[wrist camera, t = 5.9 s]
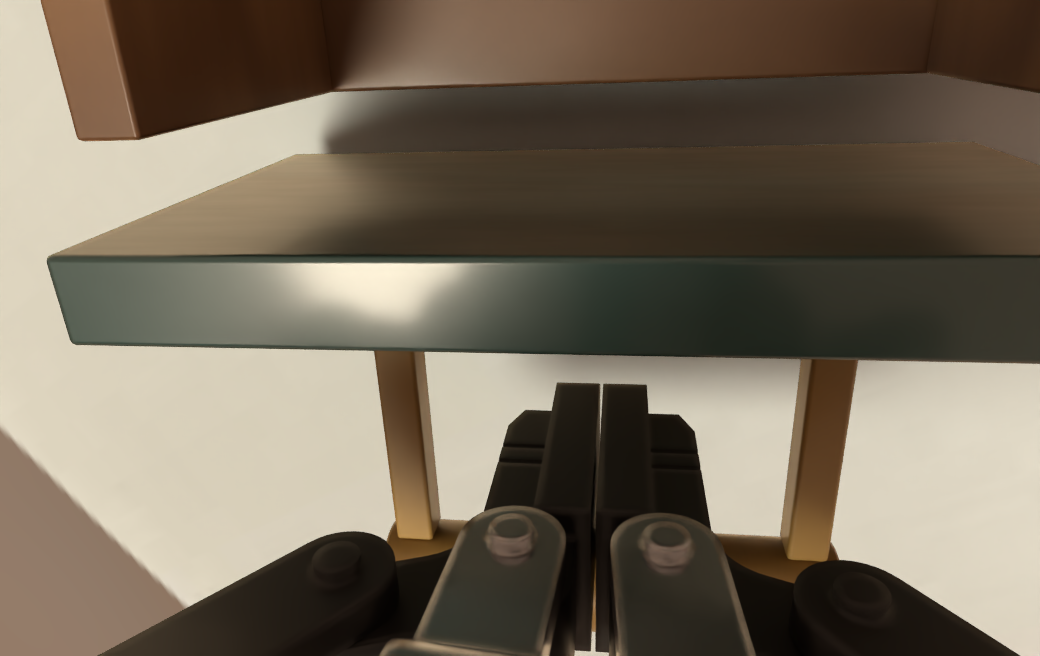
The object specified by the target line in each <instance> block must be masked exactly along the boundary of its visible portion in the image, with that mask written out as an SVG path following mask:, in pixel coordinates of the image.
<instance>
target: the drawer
mask: <svg viewBox="0 0 1040 656" xmlns="http://www.w3.org/2000/svg"><path fill="white" fill-rule="evenodd" d="M41 4H42V7H43V11H44V15H45V19H46V22H47V26H48V30H49V34H50V37H51V41H52V45H53V49H54V52H55V56H56V60H57V64H58V67H59V71H60V75H61V79H62V82H63V86H64V90H65V94H66V97H67V101H68V105H69V109H70V112H71V116H72V120H73V124H74V127H75V131H76V135H77V137H78V139H79V140H82V141H116V140H141V139H145V138H149V137H153V136H157V135H161V134H165V133H169V132H173V131H177V130H181V129H185V128H189V127H193V126H197V125H201V124H205V123H209V122H213V121H217V120H221V119H225V118H229V117H233V116H237V115H241V114H245V113H249V112H253V111H257V110H261V109H265V108H269V107H273V106H277V105H281V104H285V103H289V102H293V101H298V100H302V99H306V98H310V97H314V96H318V95H322V94H326V93H330V92H343V91H375V90H407V89H439V88H472V87H504V86H536V85H568V84H600V83H632V82H664V81H696V80H728V79H760V78H792V77H824V76H856V75H888V74H920V73H930V74H934V75H940V76H945V77H951V78H956V79H962V80H968V81H973V82H979V83H984V84H990V85H995V86H1001V87H1006V88H1012V89H1017V90H1023V91H1029V92H1034V93H1040V0H41ZM47 265H48V268H49V271H50V275H51V278H52V281H53V285H54V288H55V291H56V295H57V298H58V301H59V304H60V308H61V311H62V314H63V318H64V321H65V324H66V328H67V331H68V334H69V338H70V340H71V342H72V343H73V344H75V345H111V346H162V347H214V348H265V349H316V350H367V351H374V353H375V361H376V369H377V377H378V385H379V393H380V400H381V408H382V416H383V424H384V432H385V439H386V447H387V455H388V463H389V471H390V479H391V486H392V494H393V502H394V510H395V518H396V521H395V522H394V524H393V526H392V528H391V530H390V532H389V535H388V538H387V541H386V542H387V543H388V544H389V545H390V546H391V548H392V549H393V551H394V555H395V561H400V560H405V559H411V558H417V557H423V556H428V555H432V554H437V553H440V552H443V551H446V550H448V549H450V548H453V547H454V544H455V542H456V540H457V537H458V535H459V533H460V531H461V529H462V528H463V526H464V525H465V524H466V523H467V522H468V521H465V520H446V519H440V518H441V516H440V506H439V496H438V486H437V476H436V466H435V456H434V446H433V435H432V425H431V415H430V405H429V395H428V385H427V375H426V365H425V355H424V352H469V353H520V354H572V355H623V356H674V357H725V358H776V359H801V365H800V373H799V382H798V390H797V398H796V407H795V415H794V423H793V432H792V440H791V449H790V457H789V465H788V474H787V482H786V490H785V499H784V507H783V516H782V524H781V532H780V536H781V537H774V536H755V535H735V534H716V533H715V534H716V536H717V537H718V538H719V540H720V541H721V543H722V546H723V548H724V552H725V553H726V554H727V555H728V556H729V557H730V558H732V559H733V560H734V561H736V562H737V563H739V564H741V565H742V566H744V567H746V568H748V569H750V570H753V571H755V572H757V573H760V574H763V575H766V576H770V577H773V578H777V579H780V580H784V581H787V582H791V583H795V581H796V578H797V576H798V575H799V574H800V573H801V572H802V571H803V570H804V569H806V568H807V567H809V566H811V565H813V564H816V563H819V562H823V561H831V560H839V558H838V555H837V552H836V550H835V548H834V546H833V545H832V543H831V542H830V541H831V534H832V528H833V521H834V515H835V508H836V501H837V495H838V488H839V482H840V475H841V469H842V462H843V456H844V449H845V442H846V436H847V429H848V423H849V416H850V410H851V403H852V397H853V390H854V383H855V377H856V370H857V364H858V360H879V361H930V362H981V363H1032V364H1040V165H1038V164H1035V163H1032V162H1029V161H1026V160H1024V159H1021V158H1018V157H1015V156H1012V155H1009V154H1007V153H1004V152H1001V151H998V150H995V149H992V148H990V147H987V146H984V145H981V144H978V143H975V142H925V143H873V144H820V145H768V146H715V147H663V148H610V149H557V150H505V151H452V152H400V153H347V154H296V155H293V156H291V157H288V158H286V159H284V160H281V161H279V162H276V163H274V164H271V165H269V166H267V167H264V168H262V169H259V170H257V171H254V172H252V173H250V174H247V175H245V176H242V177H240V178H237V179H235V180H232V181H230V182H228V183H225V184H223V185H220V186H218V187H215V188H213V189H211V190H208V191H206V192H203V193H201V194H198V195H196V196H194V197H191V198H189V199H186V200H184V201H181V202H179V203H176V204H174V205H172V206H169V207H167V208H164V209H162V210H159V211H157V212H155V213H152V214H150V215H147V216H145V217H142V218H140V219H138V220H135V221H133V222H130V223H128V224H125V225H123V226H120V227H118V228H116V229H113V230H111V231H108V232H106V233H103V234H101V235H99V236H96V237H94V238H91V239H89V240H86V241H84V242H82V243H79V244H77V245H74V246H72V247H69V248H67V249H64V250H62V251H60V252H57V253H55V254H52V255H51V256H49V257H48V258H47ZM592 632H596V563H595V582H594V600H593V618H592Z"/></svg>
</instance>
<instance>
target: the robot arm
mask: <svg viewBox="0 0 1040 656" xmlns="http://www.w3.org/2000/svg"><path fill="white" fill-rule="evenodd" d="M595 563H596V652H608V653H609V656H1020V655H1018V654H1017V653H1015V652H1014V651H1012V650H1010V649H1009V648H1007V647H1006V646H1004V645H1003V644H1001V643H999V642H998V641H996V640H995V639H993V638H992V637H990V636H988V635H987V634H985V633H984V632H982V631H981V630H979V629H977V628H976V627H974V626H973V625H971V624H970V623H968V622H966V621H965V620H963V619H962V618H960V617H959V616H957V615H955V614H954V613H952V612H951V611H949V610H948V609H946V608H944V607H943V606H941V605H940V604H938V603H937V602H935V601H933V600H932V599H930V598H929V597H927V596H926V595H924V594H922V593H921V592H919V591H918V590H916V589H915V588H913V587H911V586H910V585H908V584H907V583H905V582H904V581H902V580H900V579H899V578H897V577H895V576H894V575H892V574H890V573H888V572H886V571H884V570H881V569H879V568H876V567H873V566H870V565H867V564H863V563H859V562H854V561H846V560H831V561H823V562H819V563H816V564H813V565H811V566H809V567H807V568H806V569H804V570H803V571H802V572H801V573H800V574H799V575H798V576H797V578H796V581H795V583H791V582H787V581H784V580H780V579H777V578H773V577H770V576H766V575H763V574H760V573H757V572H755V571H753V570H750V569H748V568H746V567H744V566H742V565H741V564H739V563H737V562H736V561H734V560H733V559H732V558H730V557H729V556H728V555H727V554H726V553H725V552H724V548H723V546H722V543H721V541H720V540H719V538H718V537H717V536H716V534H715V533H713V532H712V531H711V526H710V520H709V515H708V509H707V503H706V497H705V491H704V485H703V479H702V473H701V470H700V461H699V455H698V449H697V444H696V438H695V432H694V431H693V429H692V428H691V427H690V426H689V425H688V424H687V423H686V422H685V421H684V420H683V419H682V418H681V417H680V416H679V415H672V414H648V399H647V385H637V384H603V400H602V417H601V434H600V384H594V383H557V385H556V391H555V396H554V401H553V407H552V411H539V410H525V411H524V412H523V413H522V414H521V415H519V416H518V417H517V418H516V419H515V420H514V421H513V422H512V423H511V424H510V425H509V426H508V429H507V433H506V436H505V440H504V443H503V447H502V450H501V454H500V457H499V462H498V464H497V468H496V471H495V475H494V478H493V482H492V485H491V488H490V492H489V495H488V499H487V502H486V506H485V509H484V512H482V513H480V514H478V515H476V516H475V517H473V518H472V519H471V520H469V521H468V522H467V523H466V524H465V525H464V526H463V528H462V529H461V531H460V533H459V535H458V537H457V540H456V542H455V544H454V547H453V548H450V549H448V550H446V551H443V552H440V553H437V554H432V555H428V556H423V557H417V558H411V559H405V560H400V561H395V555H394V551H393V549H392V548H391V546H390V545H389V544H388V543H387V542H386V541H385V540H383V539H382V538H380V537H378V536H376V535H373V534H370V533H365V532H356V531H353V532H340V533H334V534H330V535H326V536H324V537H321V538H318V539H316V540H314V541H311V542H309V543H307V544H306V545H304V546H302V547H300V548H298V549H296V550H294V551H293V552H291V553H289V554H287V555H285V556H283V557H281V558H279V559H278V560H276V561H274V562H272V563H270V564H268V565H266V566H264V567H263V568H261V569H259V570H257V571H255V572H253V573H251V574H250V575H248V576H246V577H244V578H242V579H240V580H238V581H236V582H235V583H233V584H231V585H229V586H227V587H225V588H223V589H222V590H220V591H218V592H216V593H214V594H212V595H210V596H208V597H207V598H205V599H203V600H201V601H199V602H197V603H195V604H193V605H192V606H190V607H188V608H186V609H184V610H182V611H180V612H179V613H177V614H175V615H173V616H171V617H169V618H167V619H165V620H164V621H162V622H160V623H158V624H156V625H154V626H152V627H150V628H149V629H147V630H145V631H143V632H141V633H139V634H138V635H136V636H134V637H132V638H130V639H128V640H126V641H124V642H122V643H121V644H119V645H117V646H115V647H113V648H111V649H109V650H107V651H106V652H104V653H102V654H100V655H98V656H574V653H575V650H578V651H591V637H592V618H593V600H594V582H595Z"/></svg>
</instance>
